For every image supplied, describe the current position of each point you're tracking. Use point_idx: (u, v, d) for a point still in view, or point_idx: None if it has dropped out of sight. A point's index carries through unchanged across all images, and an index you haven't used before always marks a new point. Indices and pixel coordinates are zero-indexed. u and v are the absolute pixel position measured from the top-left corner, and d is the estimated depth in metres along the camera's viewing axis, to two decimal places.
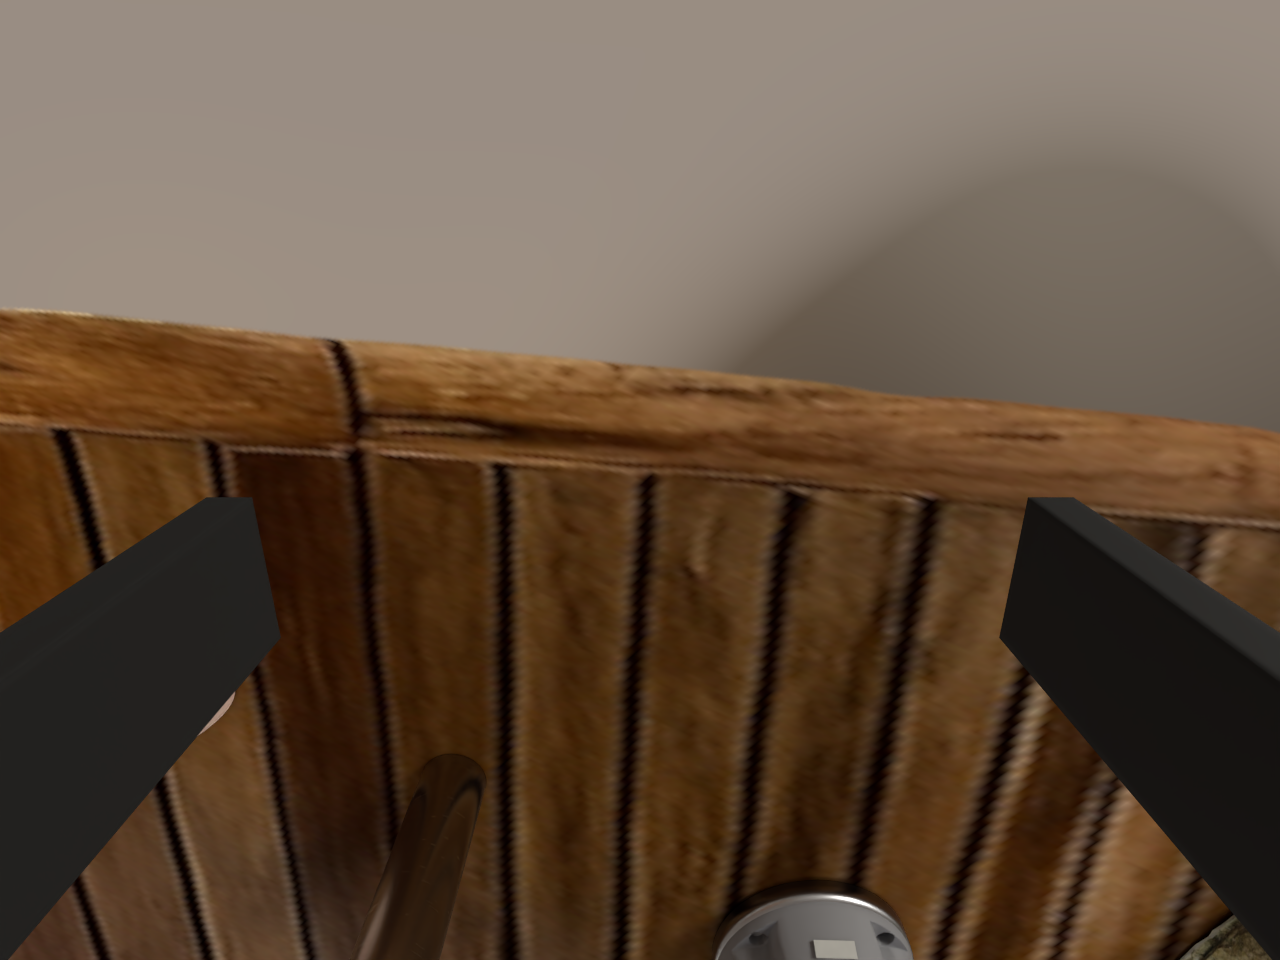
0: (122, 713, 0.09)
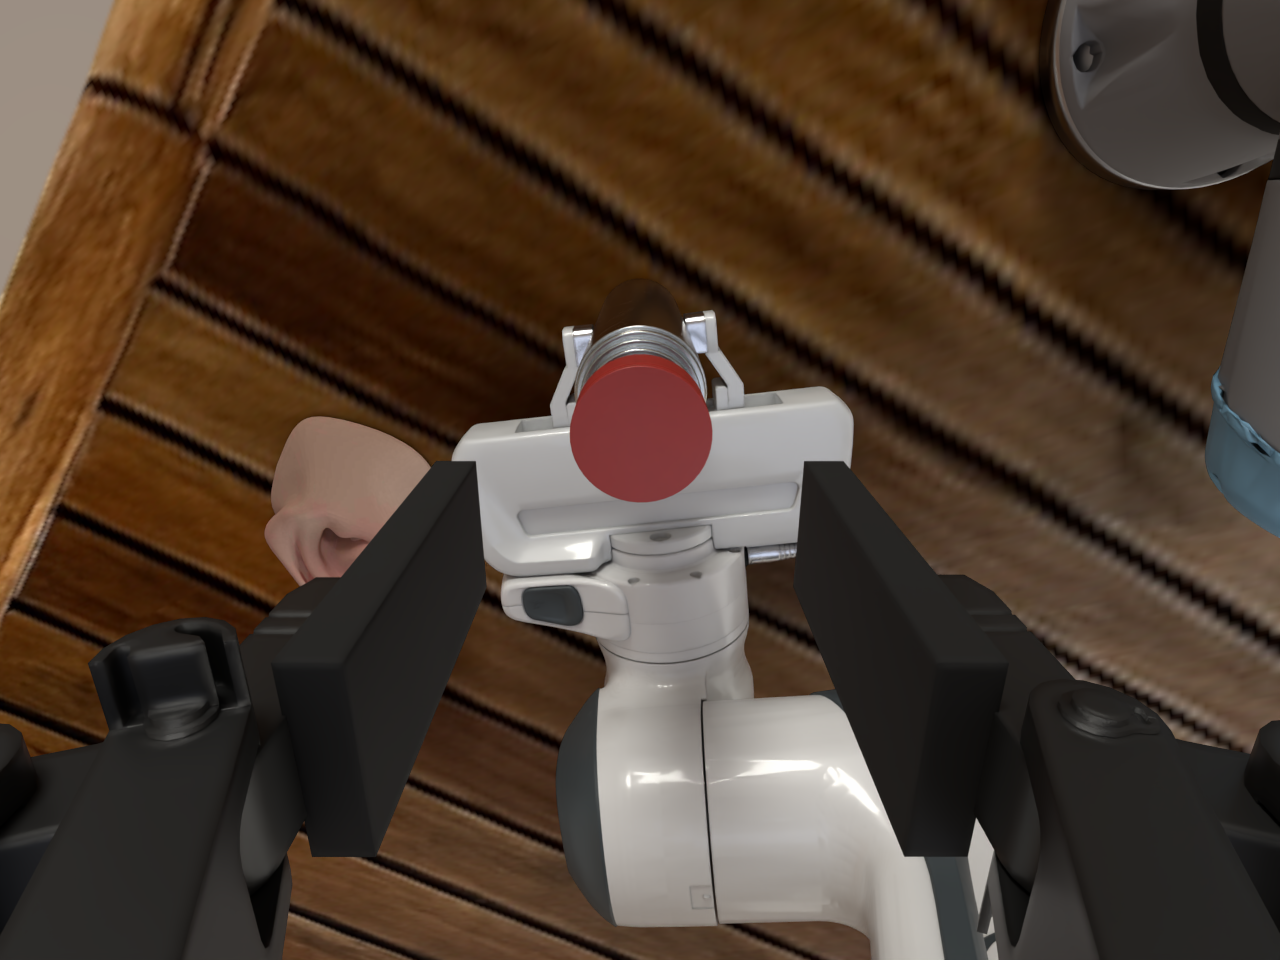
0: (429, 631, 0.11)
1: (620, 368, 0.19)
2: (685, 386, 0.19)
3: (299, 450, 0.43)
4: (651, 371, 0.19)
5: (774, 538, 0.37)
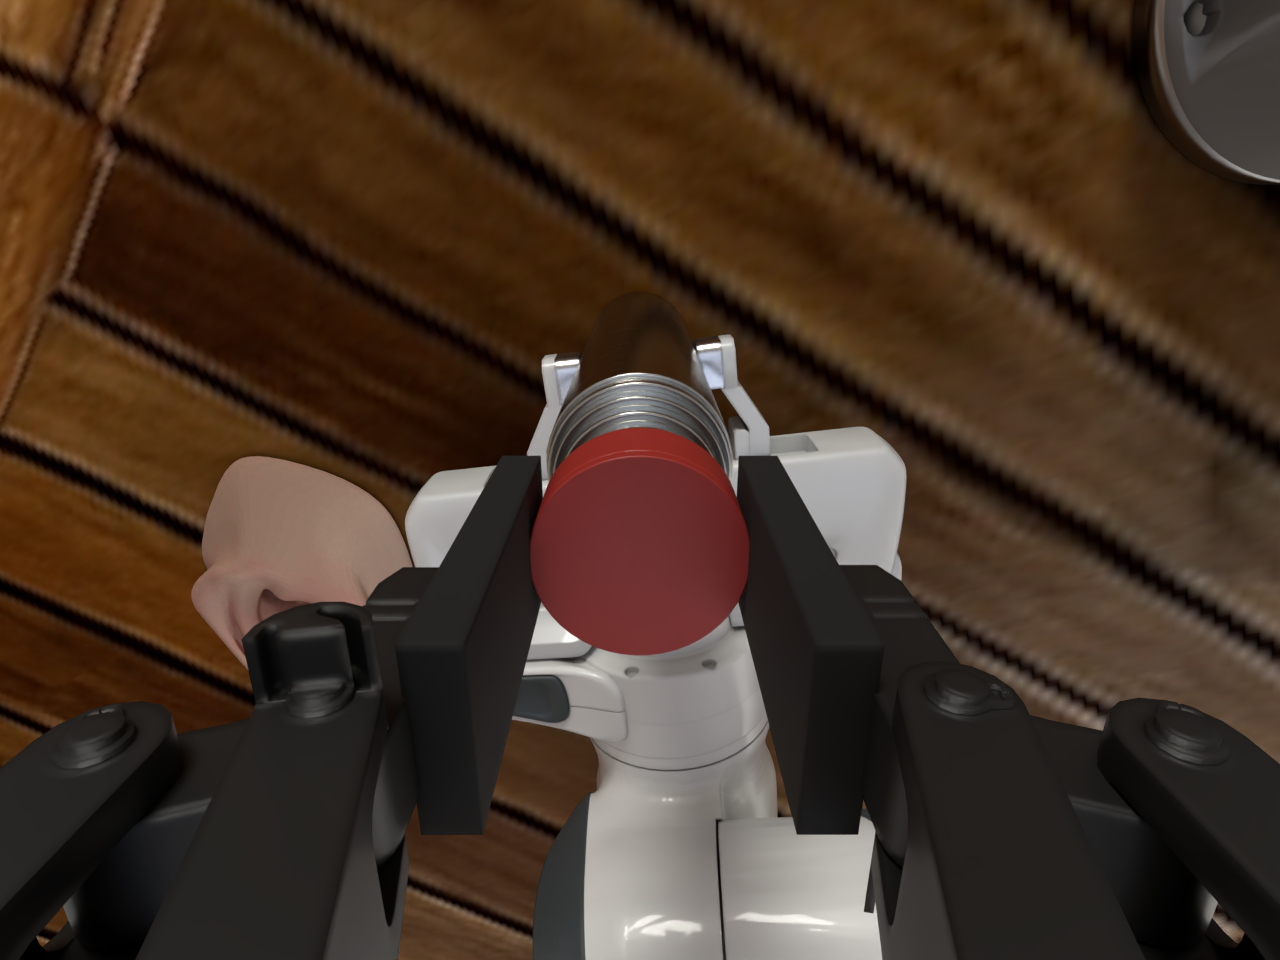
0: (514, 619, 0.11)
1: (607, 459, 0.12)
2: (710, 487, 0.12)
3: (232, 497, 0.36)
4: (656, 464, 0.12)
5: None
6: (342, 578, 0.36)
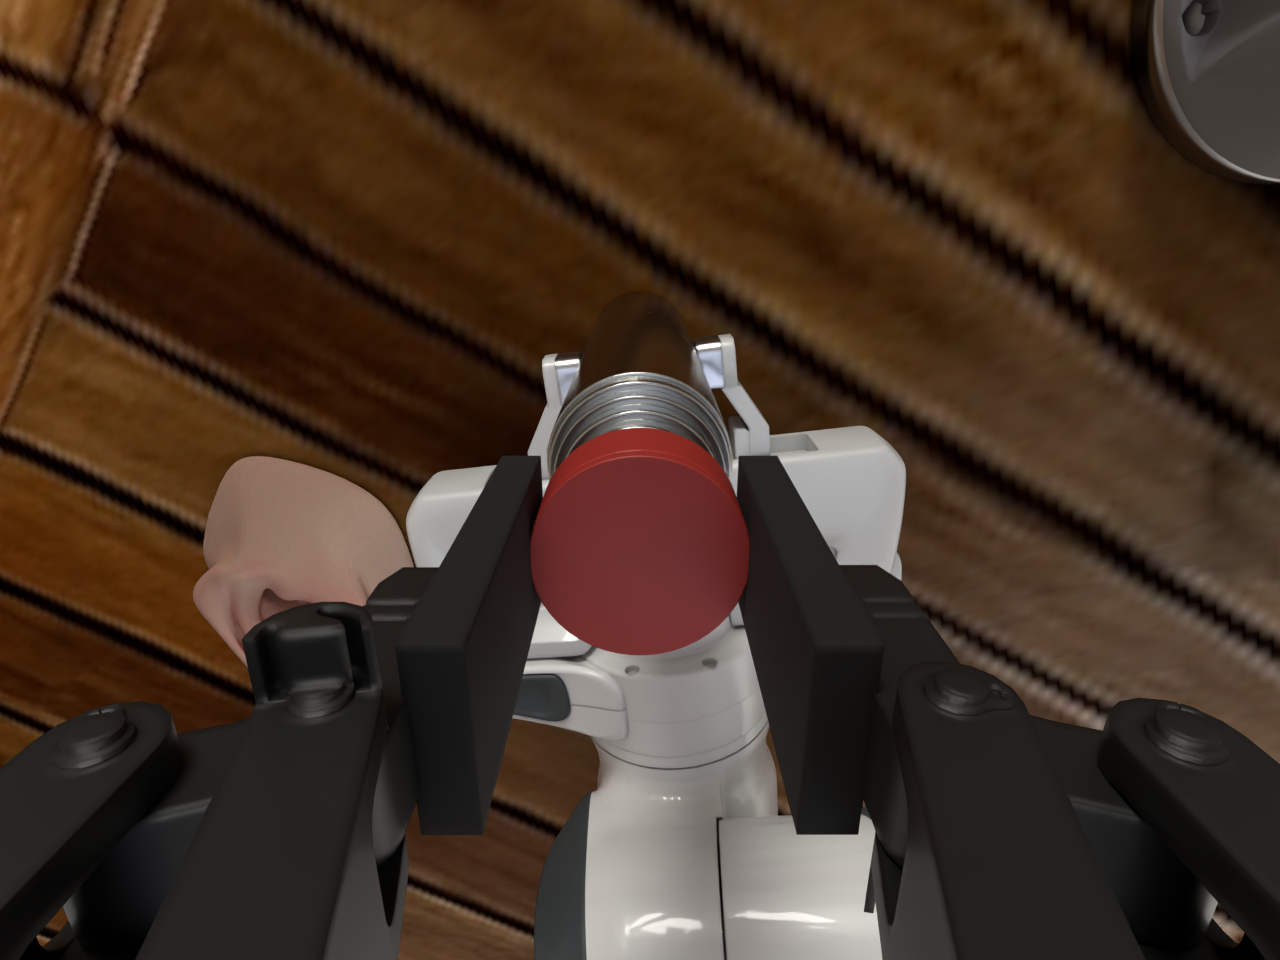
0: (513, 619, 0.11)
1: (531, 570, 0.13)
2: (569, 487, 0.12)
3: (233, 496, 0.36)
4: (539, 531, 0.12)
5: None
6: (343, 577, 0.36)
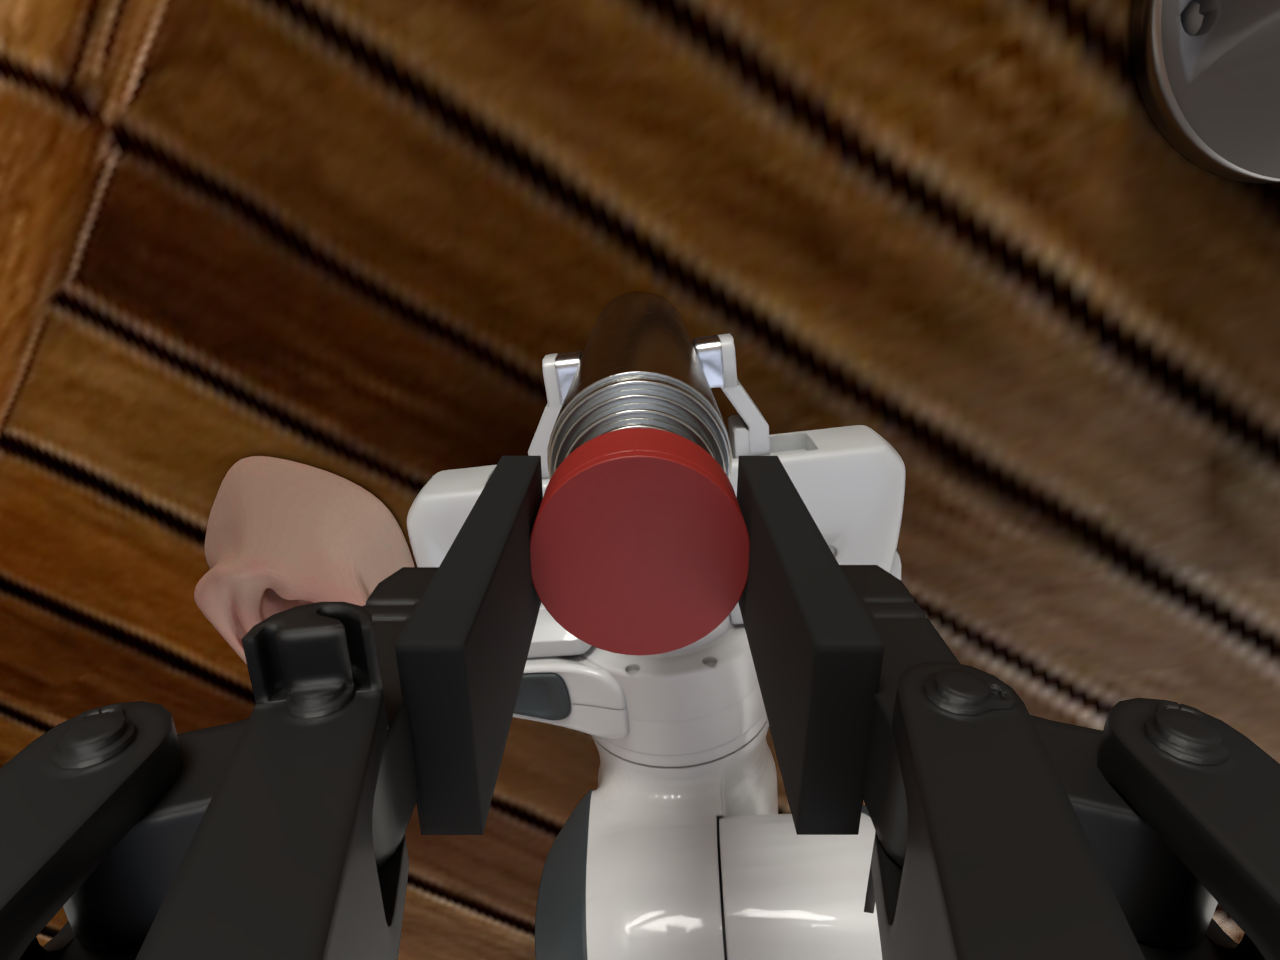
0: (513, 619, 0.11)
1: (634, 653, 0.13)
2: (551, 609, 0.13)
3: (234, 496, 0.36)
4: (593, 639, 0.13)
5: None
6: (344, 577, 0.36)
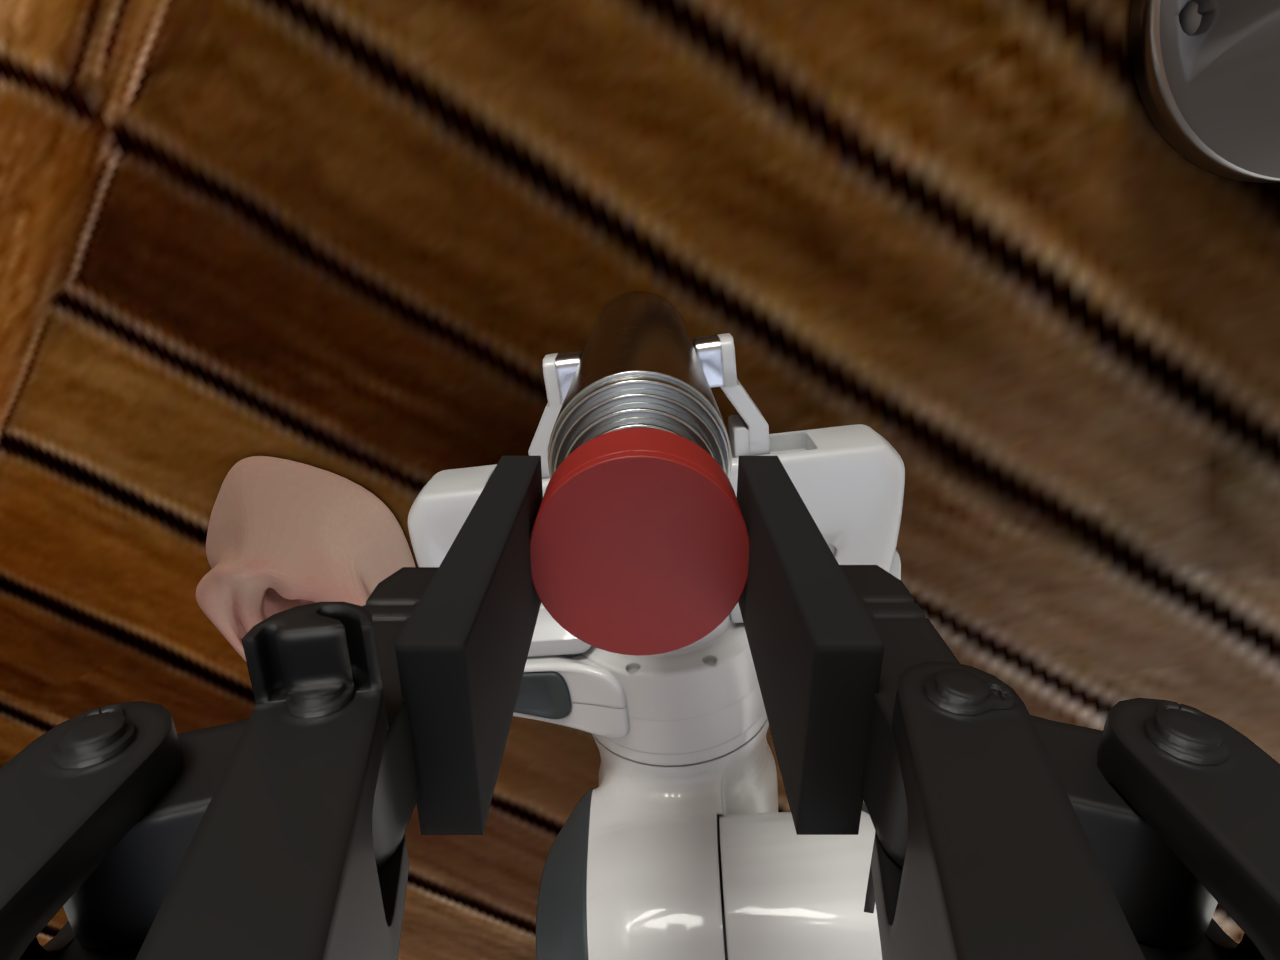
0: (514, 619, 0.11)
1: (745, 580, 0.13)
2: (675, 646, 0.13)
3: (235, 496, 0.36)
4: (719, 616, 0.13)
5: None
6: (345, 576, 0.36)
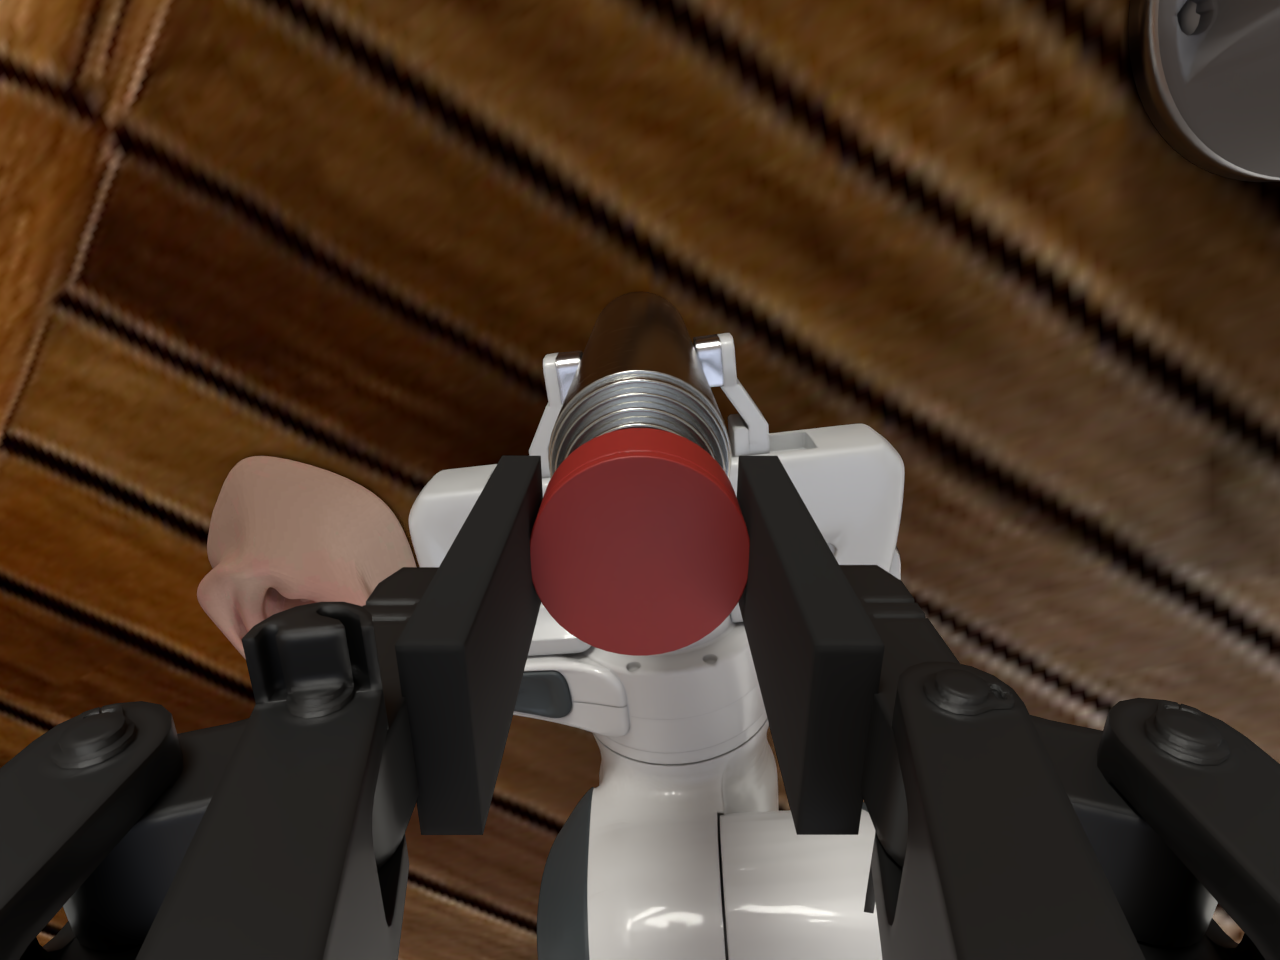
0: (514, 619, 0.11)
1: (683, 463, 0.12)
2: (743, 543, 0.12)
3: (237, 496, 0.36)
4: (718, 495, 0.12)
5: None
6: (346, 576, 0.36)
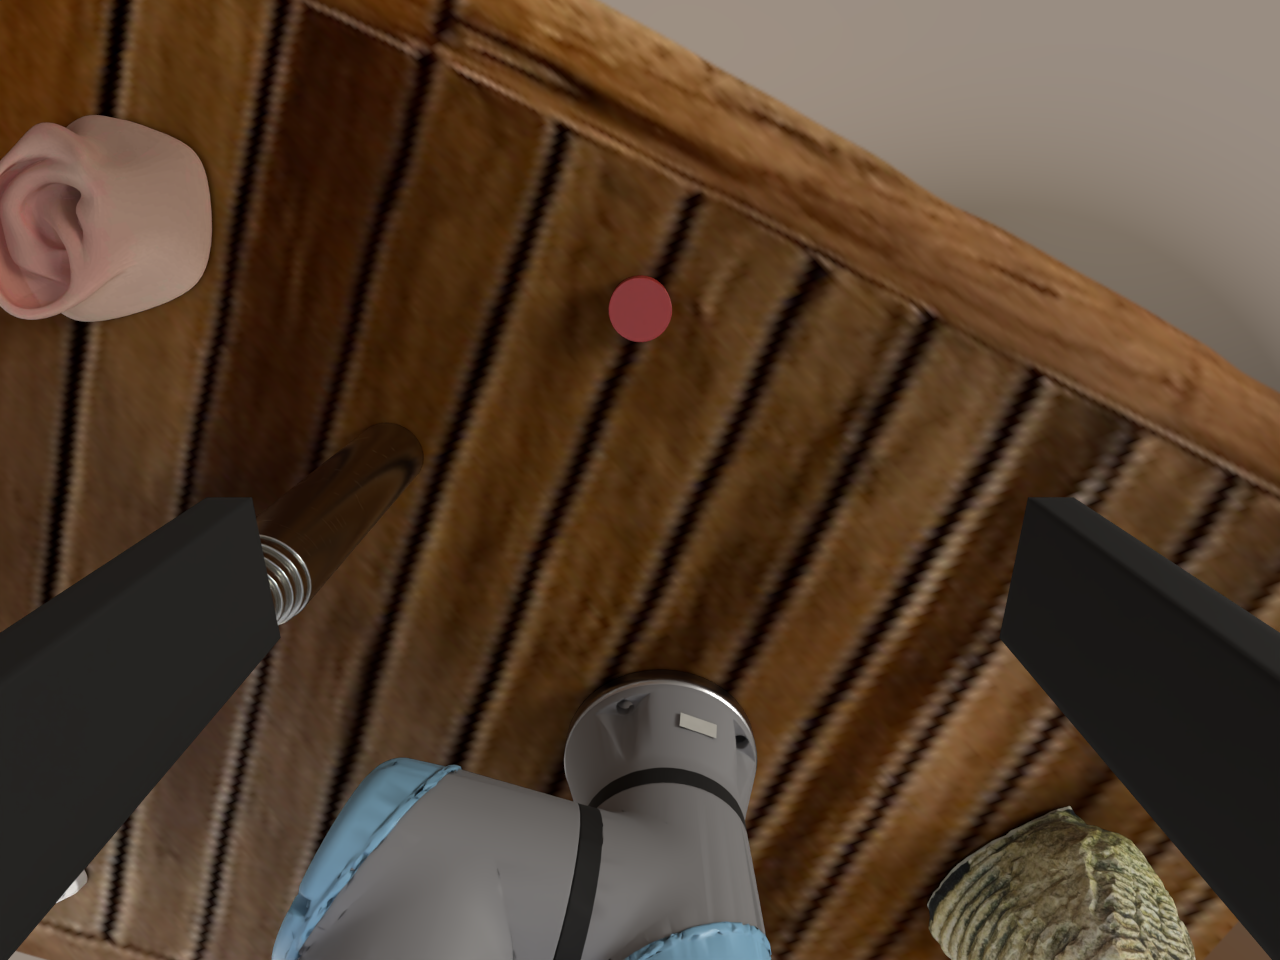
0: (122, 712, 0.09)
1: (652, 280, 0.44)
2: (669, 304, 0.44)
3: (158, 153, 0.42)
4: (662, 289, 0.44)
5: None
6: (119, 262, 0.43)
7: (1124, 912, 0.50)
